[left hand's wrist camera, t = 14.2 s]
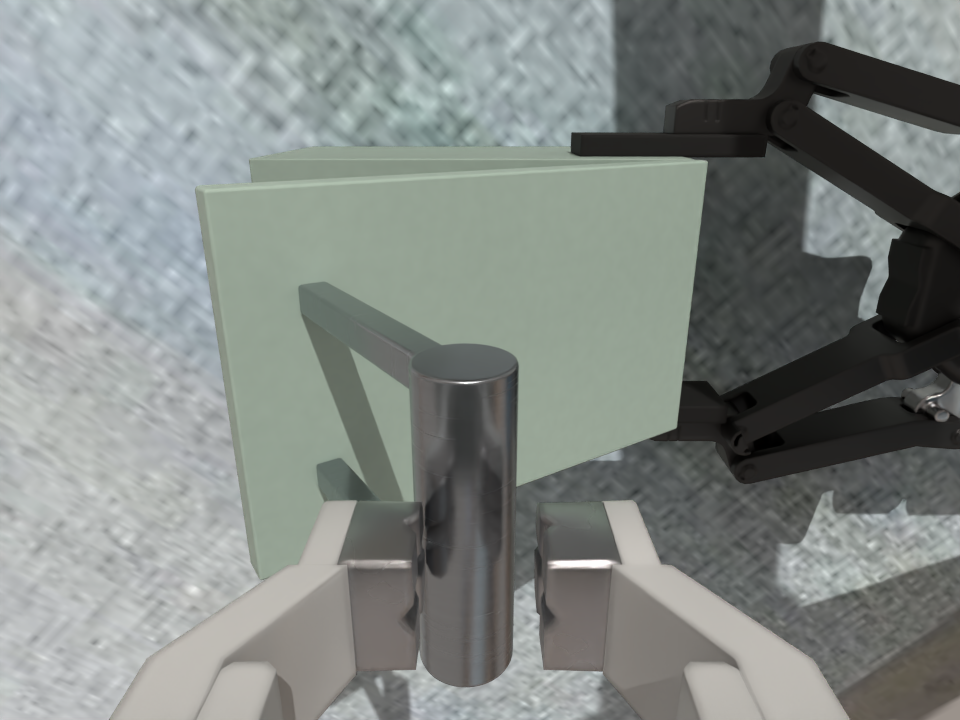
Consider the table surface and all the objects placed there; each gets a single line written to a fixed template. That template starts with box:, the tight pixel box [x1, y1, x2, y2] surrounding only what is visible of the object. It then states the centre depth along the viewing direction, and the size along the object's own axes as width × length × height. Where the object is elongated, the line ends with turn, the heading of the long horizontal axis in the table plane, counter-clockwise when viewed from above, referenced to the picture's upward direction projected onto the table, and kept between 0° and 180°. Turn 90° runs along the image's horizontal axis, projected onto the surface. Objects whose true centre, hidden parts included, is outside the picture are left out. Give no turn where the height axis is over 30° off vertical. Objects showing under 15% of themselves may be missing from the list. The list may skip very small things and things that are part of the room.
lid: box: [195, 159, 708, 687], centre depth 16 cm, size 16×10×8 cm, turn 90°
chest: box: [249, 147, 693, 183], centre depth 28 cm, size 15×10×9 cm, turn 90°
